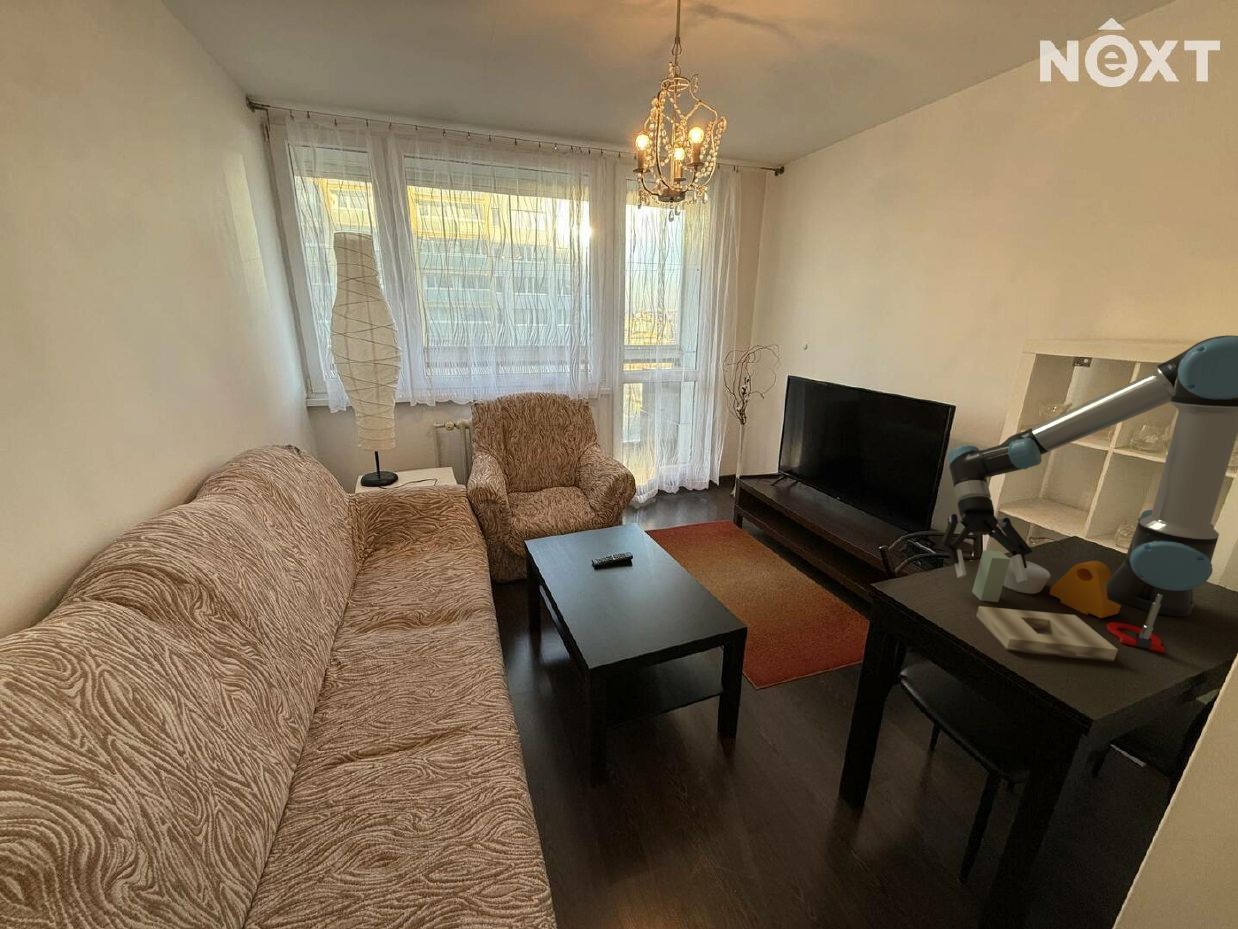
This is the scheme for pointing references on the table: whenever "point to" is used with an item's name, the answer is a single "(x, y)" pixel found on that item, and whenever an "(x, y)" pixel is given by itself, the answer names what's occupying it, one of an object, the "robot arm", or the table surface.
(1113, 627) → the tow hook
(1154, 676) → the table surface
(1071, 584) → the bracket
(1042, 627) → the block with square hole
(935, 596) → the table surface
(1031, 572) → the ramekin
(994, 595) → the peg
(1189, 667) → the table surface
